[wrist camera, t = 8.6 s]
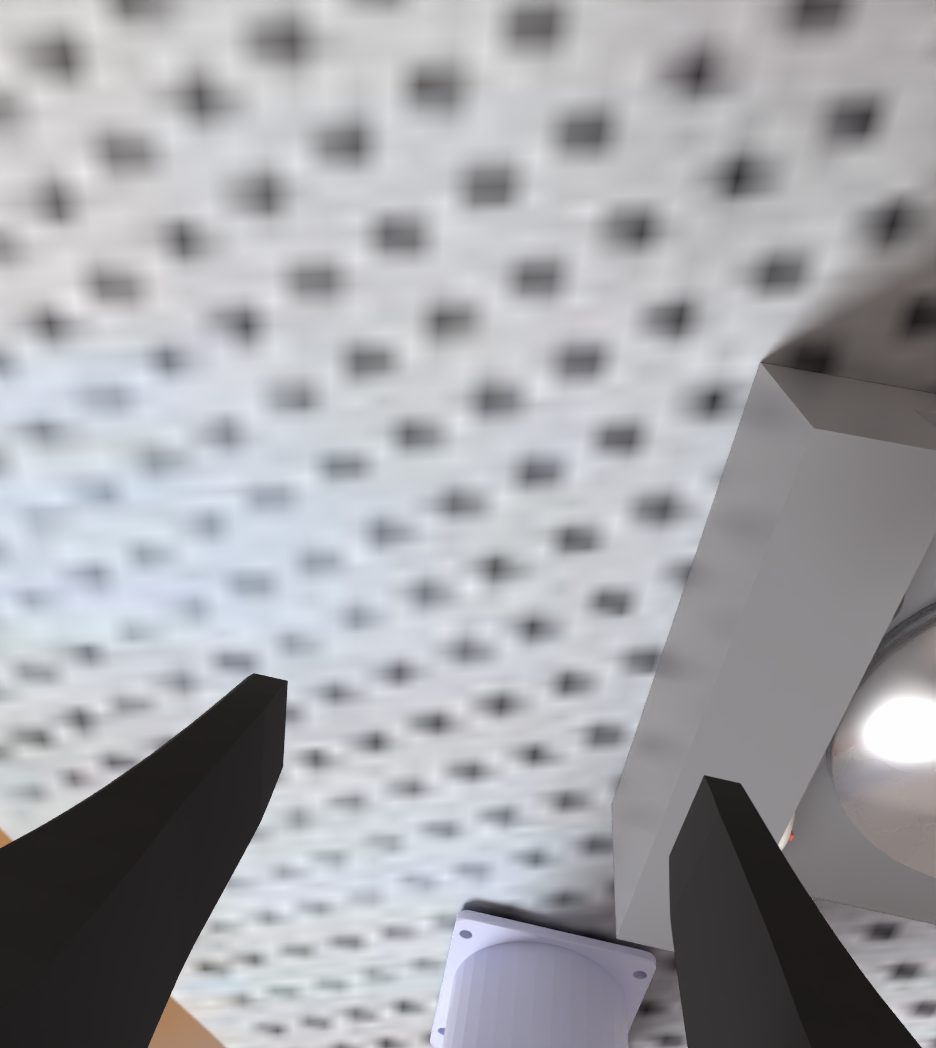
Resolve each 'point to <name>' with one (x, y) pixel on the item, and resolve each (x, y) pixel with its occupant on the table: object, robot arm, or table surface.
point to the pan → (893, 746)
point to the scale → (786, 639)
